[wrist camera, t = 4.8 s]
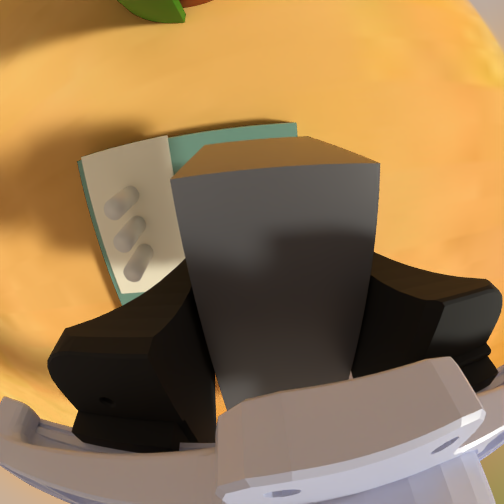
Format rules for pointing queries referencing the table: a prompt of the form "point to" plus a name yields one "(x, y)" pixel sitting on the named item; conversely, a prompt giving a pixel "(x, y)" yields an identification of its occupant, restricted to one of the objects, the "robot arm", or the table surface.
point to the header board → (148, 201)
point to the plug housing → (278, 258)
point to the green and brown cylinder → (161, 9)
